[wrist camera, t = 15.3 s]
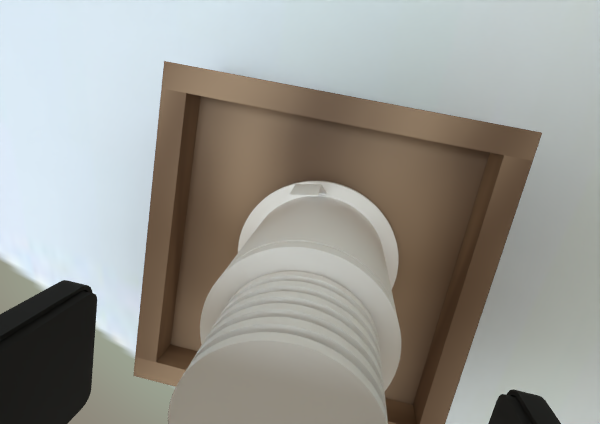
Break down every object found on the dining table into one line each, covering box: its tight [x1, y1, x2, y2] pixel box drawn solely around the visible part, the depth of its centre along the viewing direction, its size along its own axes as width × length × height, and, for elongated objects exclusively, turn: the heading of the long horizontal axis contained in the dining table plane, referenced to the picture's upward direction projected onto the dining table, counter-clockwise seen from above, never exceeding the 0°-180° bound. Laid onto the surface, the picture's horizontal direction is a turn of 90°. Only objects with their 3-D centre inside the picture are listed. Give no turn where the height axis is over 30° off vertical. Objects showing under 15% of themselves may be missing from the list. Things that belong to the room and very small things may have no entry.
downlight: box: [168, 181, 401, 424], centre depth 13 cm, size 8×7×10 cm
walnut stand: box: [134, 61, 542, 424], centre depth 19 cm, size 14×14×6 cm
